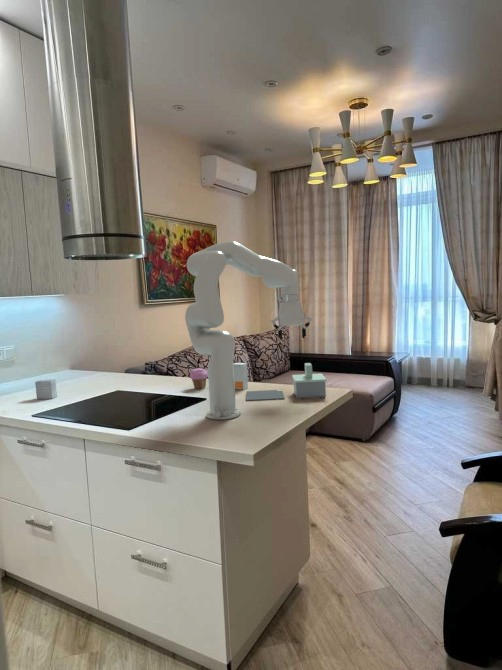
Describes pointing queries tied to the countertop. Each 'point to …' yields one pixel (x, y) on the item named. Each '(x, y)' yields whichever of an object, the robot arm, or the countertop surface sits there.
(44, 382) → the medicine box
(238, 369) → the skincare box
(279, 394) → the mat
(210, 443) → the countertop surface
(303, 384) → the tub
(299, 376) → the lid
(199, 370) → the cupcake
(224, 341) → the robot arm
